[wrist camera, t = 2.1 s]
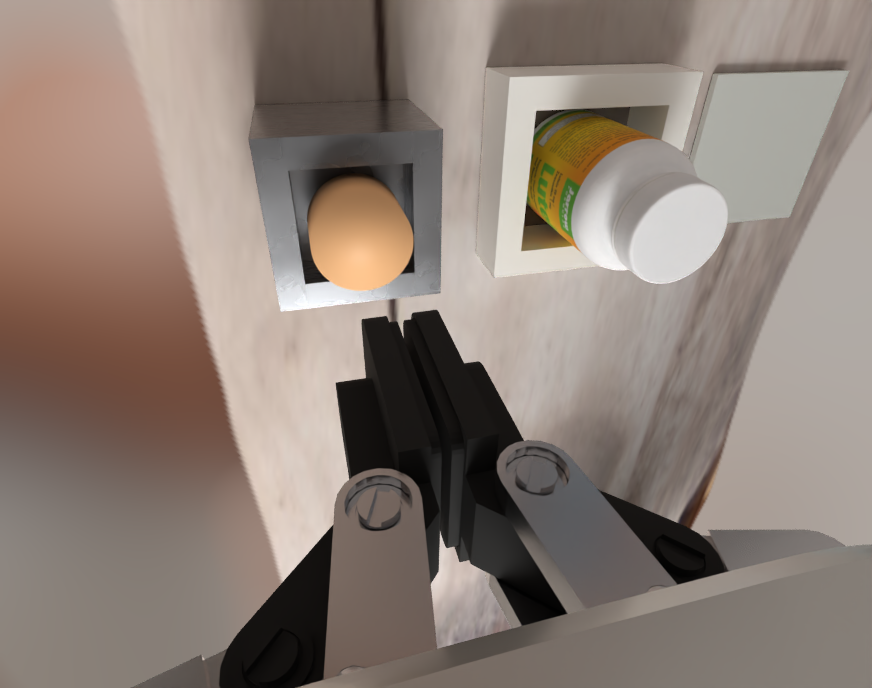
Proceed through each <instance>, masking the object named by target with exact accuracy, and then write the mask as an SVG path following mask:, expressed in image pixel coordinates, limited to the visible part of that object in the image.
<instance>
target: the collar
mask: <svg viewBox="0 0 872 688" xmlns="http://www.w3.org/2000/svg"><path fill="white" fill-rule="evenodd" d="M702 76H703V71H698V70H693V69H688V68H683V67H679V66H674V65H669V64H664V63H654V64H613V65H571V66H529V67H487V68H486V75H485V93H484V111H483V129H482V147H481V165H480V183H479V201H478V219H477V237H476V254H477V256H478V257H479V258H480V260H481V261H482V263H483V264H484V265H485V267H486V268H487V269H488V271H489V272H490V273H491V275H492V276H493V277H494V278H498V277H507V276H516V275H525V274H534V273H543V272H552V271H561V270H570V269H579V268H588V267H597V266H599V265H597V264H595V263H593V262H592V261H591V260H589V259H588V258H587V257H585V256H584V255H583V254H582V253H581V252H580V251H579V250H577V249H576V248H575V247H574V246H573V245H572V244H571V243H570V242H568V241H567V240H566V239H565V238H564V237H563V236H562V235H560V234H559V233H558V232H557V231H556V230H555V229H554V228H552V227H551V226H550V225H549V224H544V225H533V226H524V219H525V209H526V200H527V191H528V182H529V172H530V163H531V154H532V145H533V136H534V126H535V117H536V111H541V110H565V109H588V108H611V107H630V111H629V116H628V121H627V126H628V127H630V128H633V129H635V130H638V131H640V132H643V133H645V134H648V135H650V136H653V137H655V138H658V139H660V140H662V141H665V142H667V143H669V144H671V145H672V146H674V147H676V148H678V149H679V150H681V151H683V147H684V143H685V140H686V136H687V132H688V128H689V125H690V121H691V117H692V113H693V110H694V106H695V102H696V98H697V95H698V91H699V87H700V83H701V80H702Z"/></svg>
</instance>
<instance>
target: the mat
mask: <svg viewBox="0 0 872 688" xmlns="http://www.w3.org/2000/svg"><path fill="white" fill-rule="evenodd" d="M848 73H849V71H847V70H819V71H784V72H750V73H716V74H713V76H712V80H711V83H710V87H709V91H708V94H707V98H706V101H705V105H704V109H703V112H702V116H701V120H700V123H699V127H698V130H697V134H696V138H695V141H694V145H693V149H692V152H691V156H690V159H689V160H690V161H691V162H692V164H693V166H694V168H695V171H696V174H697V177H698V178H700V179H701V180H703V181H705V182H707V183H709V184H711V185H713V186H714V187H716V188H717V189H718V190H719V191H720V192H721V193H722V194H723V196H724V198H725V200H726V203H727V207H728V221H727V223H736V222H746V221H756V220H766V219H777V218H787V217H790V215H791V213H792V210H793V208H794V206H795V203H796V201H797V198H798V196H799V193H800V191H801V188H802V186H803V183H804V181H805V178H806V176H807V174H808V171H809V169H810V166H811V164H812V161H813V159H814V156H815V154H816V151H817V149H818V146H819V144H820V142H821V139H822V137H823V134H824V132H825V129H826V127H827V124H828V122H829V119H830V117H831V115H832V112H833V110H834V107H835V105H836V102H837V100H838V97H839V95H840V92H841V90H842V87H843V85H844V83H845V80H846V78H847V75H848Z"/></svg>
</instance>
